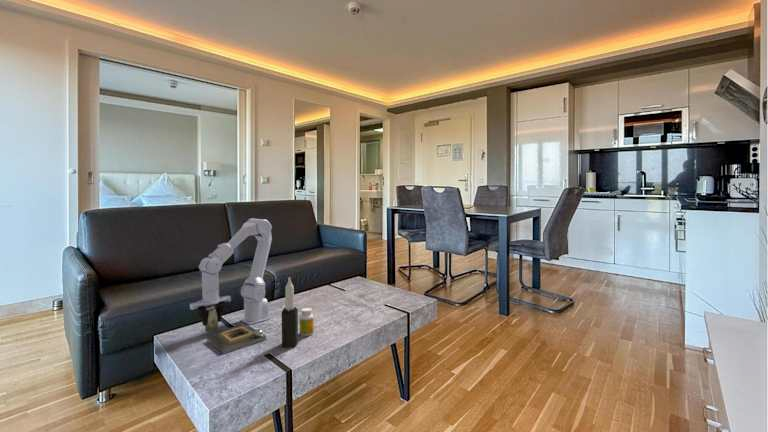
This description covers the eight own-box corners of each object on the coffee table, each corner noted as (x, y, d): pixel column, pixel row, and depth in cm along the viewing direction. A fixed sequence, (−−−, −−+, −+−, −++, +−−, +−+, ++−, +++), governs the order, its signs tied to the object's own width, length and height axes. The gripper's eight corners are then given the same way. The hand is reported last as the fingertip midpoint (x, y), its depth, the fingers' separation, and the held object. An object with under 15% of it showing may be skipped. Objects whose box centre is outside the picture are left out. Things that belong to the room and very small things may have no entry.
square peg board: (248, 329, 139) (248, 321, 139) (266, 339, 130) (266, 330, 129) (207, 341, 127) (206, 332, 127) (222, 354, 118) (222, 344, 118)
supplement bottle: (299, 336, 133) (299, 312, 132) (299, 331, 138) (299, 307, 137) (314, 335, 134) (314, 311, 133) (313, 330, 139) (313, 306, 139)
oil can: (215, 325, 138) (214, 302, 137) (220, 329, 134) (219, 305, 134) (203, 329, 134) (202, 305, 134) (207, 332, 131) (207, 308, 130)
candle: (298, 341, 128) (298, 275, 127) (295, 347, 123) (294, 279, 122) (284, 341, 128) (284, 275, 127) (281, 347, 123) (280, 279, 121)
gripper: (194, 294, 125) (195, 331, 126) (233, 287, 136) (234, 320, 137) (187, 291, 130) (188, 326, 131) (226, 283, 141) (227, 316, 141)
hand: (211, 323), depth 134 cm, fingers closed on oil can, 5 cm apart
